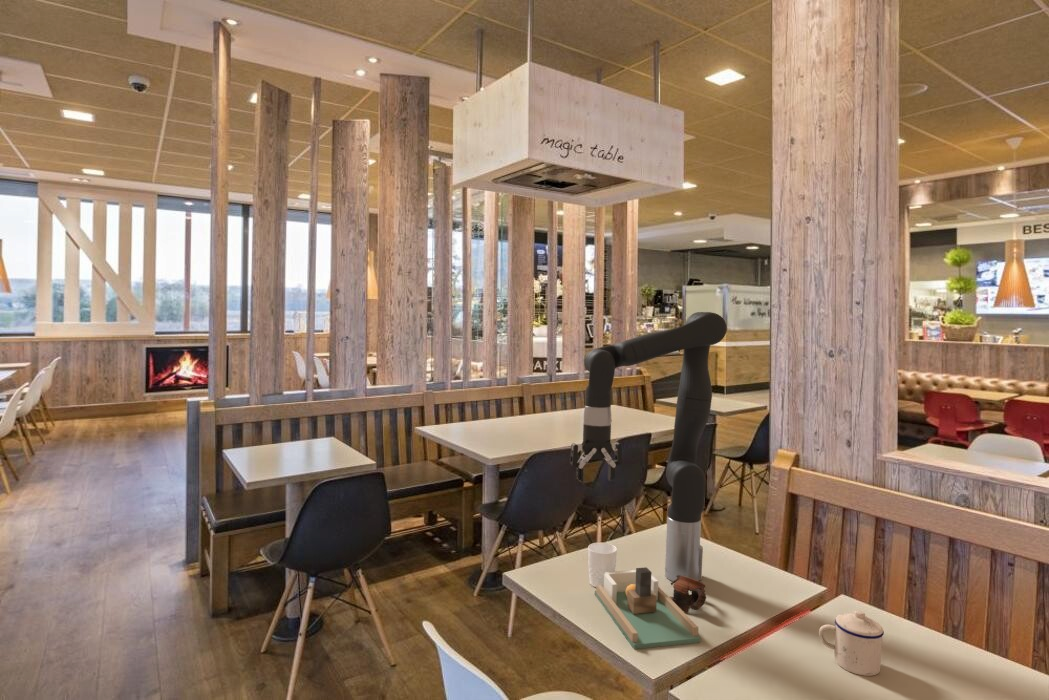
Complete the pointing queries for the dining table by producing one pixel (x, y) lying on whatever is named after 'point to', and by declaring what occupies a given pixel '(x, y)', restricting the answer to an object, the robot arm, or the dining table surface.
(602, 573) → the white cup
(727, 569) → the dining table surface
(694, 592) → the pottery mug
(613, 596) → the pitch
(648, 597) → the striker
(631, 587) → the ball
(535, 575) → the dining table surface
